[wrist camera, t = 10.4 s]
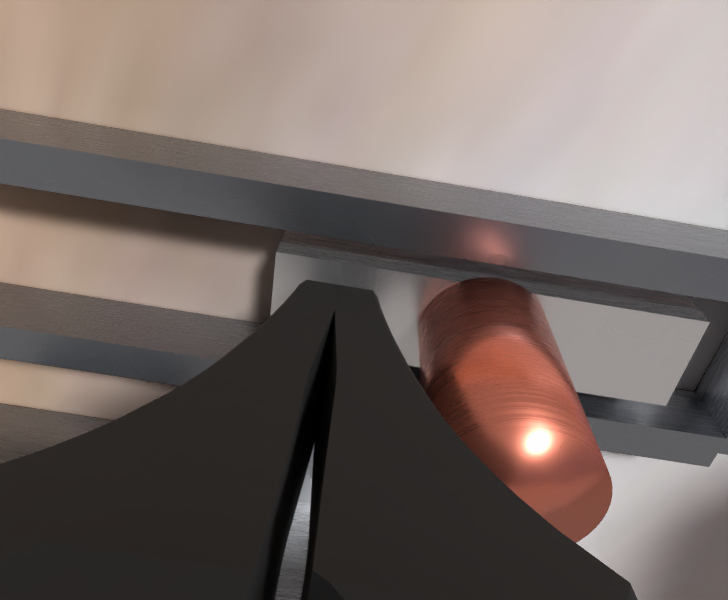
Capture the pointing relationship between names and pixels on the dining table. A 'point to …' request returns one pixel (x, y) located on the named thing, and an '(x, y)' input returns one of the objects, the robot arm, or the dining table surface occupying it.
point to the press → (342, 221)
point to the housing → (295, 556)
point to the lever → (515, 357)
